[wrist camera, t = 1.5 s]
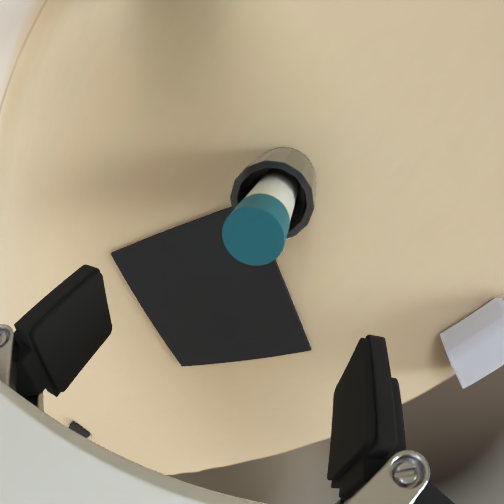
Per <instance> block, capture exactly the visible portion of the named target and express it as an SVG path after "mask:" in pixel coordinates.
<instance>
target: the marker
mask: <svg viewBox="0 0 504 504" xmlns="http://www.w3.org/2000/svg"><path fill="white" fill-rule="evenodd" d="M299 188H300V183H299V181H298V180H297V178H296V177H294V176H293V175H291V174H289V173H288V172H286V171H284V170H283V169H276V168H270V169H269V170H268V171H267V172H266V174H265V175H264V176H263V177H262V178H261V179H260V181H259V182H258V183H257V184H256V185H255V186H254V188H253V189H252V190H251V191H250V192H249V193H248V195H247V196H246V197H245V198H244V199H243V200H242V201H241V202H240V203H239V204H238V205H237V206H236V208H235V209H234V210H233V211H232V212H231V214H230V215H229V216H228V217H227V219H226V220H225V222H224V225H223V228H222V238H223V242H224V245H225V247H226V249H227V250H228V252H229V253H230V254H231V255H232V256H233V257H234V258H235V259H237V260H238V261H240V262H242V263H245V264H248V265H254V266H258V265H265V264H268V263H270V262H272V261H273V260H275V259H276V258H277V257H278V256H279V255H280V253H281V252H282V250H283V248H284V244H285V241H286V237H287V234H288V230H289V226H290V220H291V217H292V213H293V209H294V206H295V202H296V199H297V195H298V192H299Z"/></svg>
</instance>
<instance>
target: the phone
mask: <svg viewBox="0 0 504 504" xmlns="http://www.w3.org/2000/svg"><path fill="white" fill-rule="evenodd" d="M69 428H70V429H71V430H73V431H75V432H76V433H78V434H80V435H81V436H83V437H85V438H87V437H88V436H89V435H90V433H89V432H87V431H86V430H85V429H83V428H82V427H81V426H79V425H78V424H77V423H75V422H74V421H72V422H71V424H70V426H69Z"/></svg>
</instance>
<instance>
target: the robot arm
mask: <svg viewBox="0 0 504 504" xmlns="http://www.w3.org/2000/svg"><path fill="white" fill-rule="evenodd" d="M14 326H15V328H16V331H15V332H13V330H12V328H11V327H10V326H8V325H5V324H0V504H265V503H261V502H256V501H252V500H247V499H242V498H238V497H234V496H230V495H226V494H223V493H219V492H215V491H212V490H208V489H205V488H202V487H198V486H195V485H192V484H189V483H186V482H183V481H180V480H177V479H174V478H172V477H169V476H167V475H164V474H161V473H159V472H156V471H154V470H151V469H149V468H146V467H144V466H142V465H139V464H137V463H135V462H133V461H130V460H128V459H126V458H124V457H122V456H120V455H118V454H115V453H113V452H111V451H109V450H107V449H105V448H104V447H102V446H100V445H98V444H96V443H94V442H92V441H90V440H89V439H87V438H85V437H83V436H81V435H80V434H78V433H76V432H75V431H73V430H71V429H70V428H68V427H66V426H65V425H63V424H61V423H60V422H58V421H57V420H55V419H54V418H52V417H51V416H49V415H48V414H46V413H45V412H44V406H43V391H44V389H45V388H46V389H47V391H48V392H50V393H51V394H53V395H55V396H56V397H57V396H58V395H59V394H60V392H64V391H65V390H66V389H67V388H68V386H69V385H70V384H71V382H72V381H73V380H74V379H75V377H76V376H77V375H78V373H79V372H80V371H81V370H82V368H83V367H84V366H85V365H86V363H87V362H88V361H89V360H90V358H91V357H92V356H93V355H94V354H95V352H96V351H97V350H98V349H99V347H100V346H101V345H102V344H103V343H104V341H105V340H106V339H107V338H108V337H109V335H110V334H111V331H112V324H111V319H110V314H109V309H108V304H107V299H106V293H105V288H104V282H103V276H102V274H101V273H100V270H99V269H98V268H95V267H92V266H89V265H83V266H82V267H80V268H79V269H78V270H77V271H75V272H74V273H73V274H72V275H71V276H69V277H68V278H67V279H66V280H64V281H63V282H62V283H61V284H60V285H58V286H57V287H56V288H55V289H54V290H52V291H51V292H50V293H49V294H48V295H47V296H45V297H44V298H43V299H42V300H41V301H40V302H39V303H37V304H36V305H35V306H34V307H33V308H32V309H31V310H30V311H28V312H27V313H26V314H25V315H24V316H23V317H22V318H21V319H20V320H19V321H18V322H16V323H15V324H14ZM429 476H430V468H429V464H428V463H427V460H426V459H425V458H424V457H423V456H422V455H421V454H419V453H417V452H416V451H411V450H406V442H405V431H404V421H403V412H402V404H401V397H400V389H399V384H398V380H397V379H396V378H391V372H390V366H389V359H388V353H387V347H386V341H385V338H384V337H380V336H374V335H367V336H366V338H361V339H360V340H359V342H358V344H357V346H356V349H355V351H354V353H353V355H352V357H351V359H350V361H349V363H348V365H347V367H346V369H345V371H344V373H343V375H342V377H341V379H340V381H339V383H338V384H337V386H336V389H335V392H334V399H333V417H332V431H331V443H330V455H329V464H328V474H327V479H328V480H332V484H331V488H340V491H339V497H340V498H341V499H340V500H338V501H337V502H336V503H335V504H454V503H453V502H452V501H451V500H450V499H449V498H448V497H446V496H445V495H444V494H443V493H442V492H441V491H439V490H438V489H437V488H436V487H435V486H434V485H433V484H432V483H430V482H429V481H428V480H429Z"/></svg>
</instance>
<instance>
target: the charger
mask: <svg viewBox="0 0 504 504" xmlns="http://www.w3.org/2000/svg"><path fill="white" fill-rule="evenodd" d="M440 337H441V340H442V342H443V345H444V348H445V351H446V354H447V356H448V358H449V361H450V363H451V365H452V367H453V369H454V371H455V373H456V375H457V377H458V379H459V381H460V384H461V386H462V388H463V389H464V388H466V387H467V386H469V385H471V384H473V383H474V382H476V381H478V380H480V379H481V378H483V377H484V376H486V375H488V374H490V373H491V372H493V371H494V370H496V369H498V368H499V367H501V366H502V365H504V299H501V298H496V297H495V298H494V299H493V300H491V301H490V302H488V303H487V304H486V305H484V306H483V307H481V308H480V309H478V310H477V311H475V312H474V313H472V314H471V315H469V316H468V317H466V318H465V319H463V320H461V321H460V322H458V323H457V324H455V325H453V326H452V327H450V328H449V329H447V330H445V331H444V332H442V333H440Z"/></svg>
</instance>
